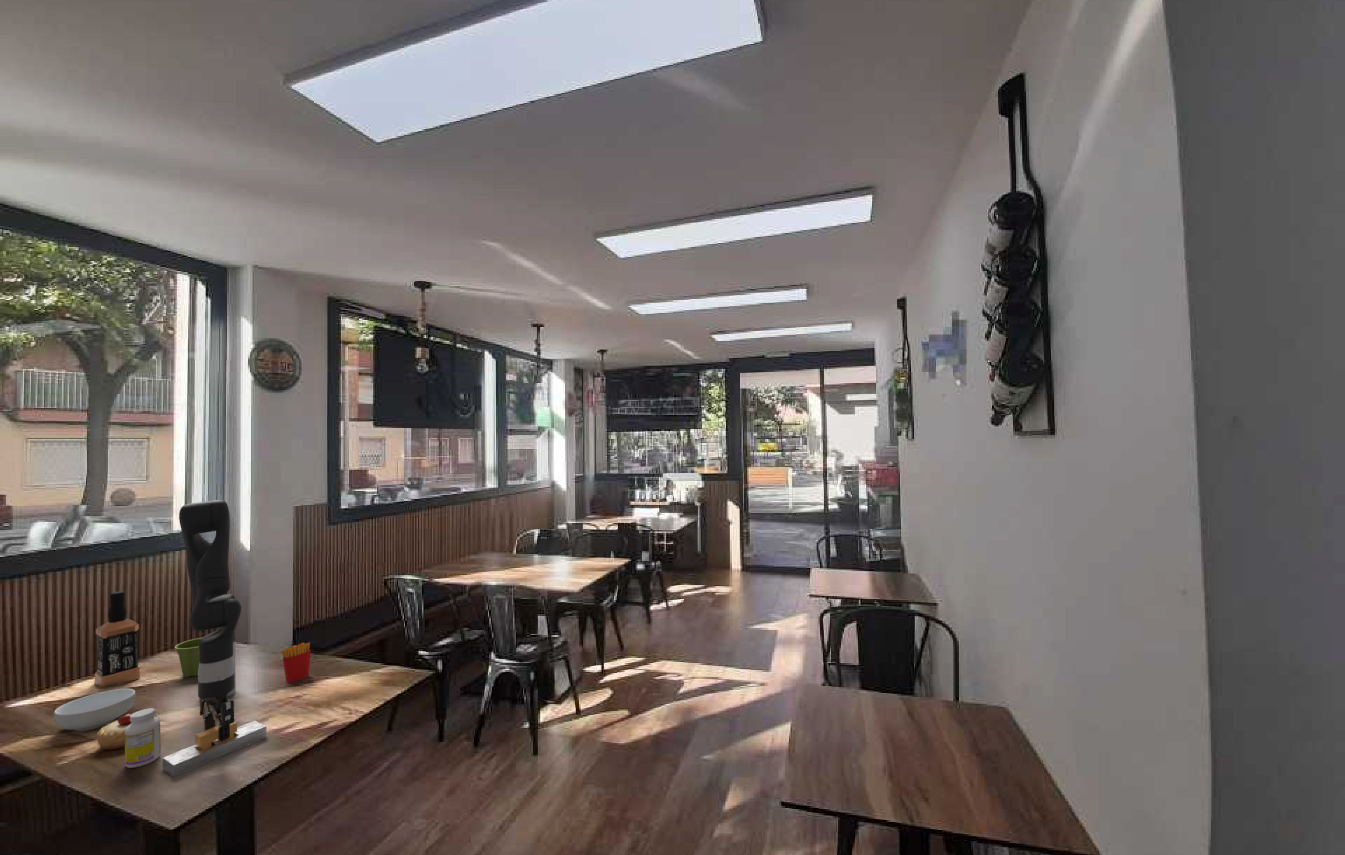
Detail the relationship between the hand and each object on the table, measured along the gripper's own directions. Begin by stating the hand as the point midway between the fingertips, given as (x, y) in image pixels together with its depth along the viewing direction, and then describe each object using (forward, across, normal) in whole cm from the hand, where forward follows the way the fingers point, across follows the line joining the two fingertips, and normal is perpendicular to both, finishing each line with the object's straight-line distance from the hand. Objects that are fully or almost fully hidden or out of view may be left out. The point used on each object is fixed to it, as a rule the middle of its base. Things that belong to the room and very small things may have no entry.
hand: (217, 735), depth 142 cm
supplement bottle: (+5, -13, -11) cm, 18 cm away
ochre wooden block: (+4, 0, 0) cm, 5 cm away
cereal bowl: (+5, -54, -10) cm, 55 cm away
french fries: (+5, -31, +34) cm, 46 cm away
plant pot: (+5, -72, +20) cm, 75 cm away
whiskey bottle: (+5, -91, +4) cm, 91 cm away
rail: (+4, 0, 0) cm, 4 cm away
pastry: (+5, -32, -9) cm, 33 cm away
